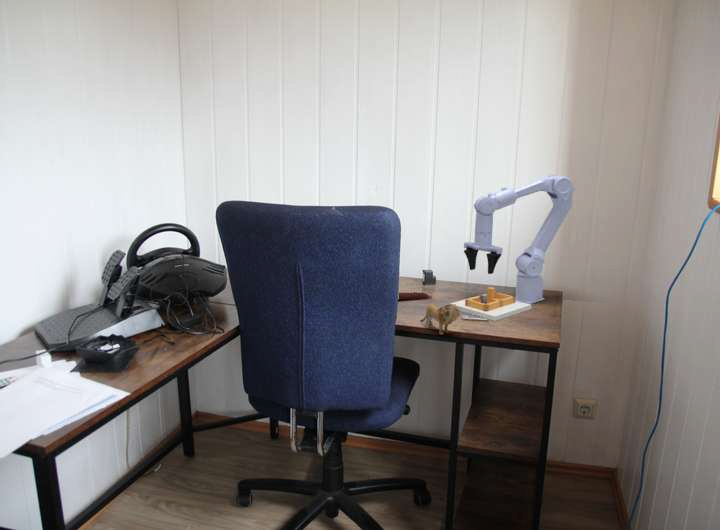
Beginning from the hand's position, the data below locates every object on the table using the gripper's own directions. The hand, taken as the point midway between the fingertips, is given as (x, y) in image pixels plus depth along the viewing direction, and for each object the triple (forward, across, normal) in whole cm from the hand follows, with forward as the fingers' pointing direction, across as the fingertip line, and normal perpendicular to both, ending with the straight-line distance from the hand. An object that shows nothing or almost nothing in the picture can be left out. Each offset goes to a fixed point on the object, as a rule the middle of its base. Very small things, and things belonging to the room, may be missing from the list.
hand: (481, 271), depth 184 cm
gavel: (+11, -17, -20) cm, 29 cm away
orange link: (+9, +8, -5) cm, 13 cm away
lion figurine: (+11, +11, -34) cm, 38 cm away
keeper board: (+10, +8, -5) cm, 14 cm away
